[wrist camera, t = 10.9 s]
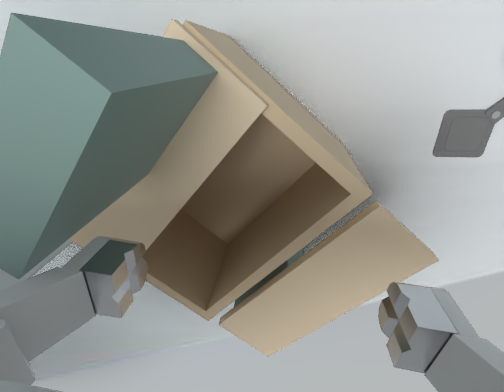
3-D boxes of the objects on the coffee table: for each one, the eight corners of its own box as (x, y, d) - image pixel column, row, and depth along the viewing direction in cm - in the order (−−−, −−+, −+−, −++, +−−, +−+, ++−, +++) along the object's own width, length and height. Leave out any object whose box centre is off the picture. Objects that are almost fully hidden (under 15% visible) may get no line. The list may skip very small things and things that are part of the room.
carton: (231, 248, 26) (207, 320, 19) (135, 178, 23) (67, 229, 16) (343, 145, 20) (372, 193, 13) (228, 35, 17) (185, 20, 10)
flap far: (218, 324, 19) (237, 254, 25) (268, 356, 20) (273, 281, 26) (380, 206, 13) (349, 155, 19) (438, 260, 14) (390, 194, 20)
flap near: (130, 268, 17) (27, 402, 10) (65, 226, 16) (-95, 344, 10) (268, 103, 11) (233, 170, 5) (178, 21, 10) (-33, -47, 4)
